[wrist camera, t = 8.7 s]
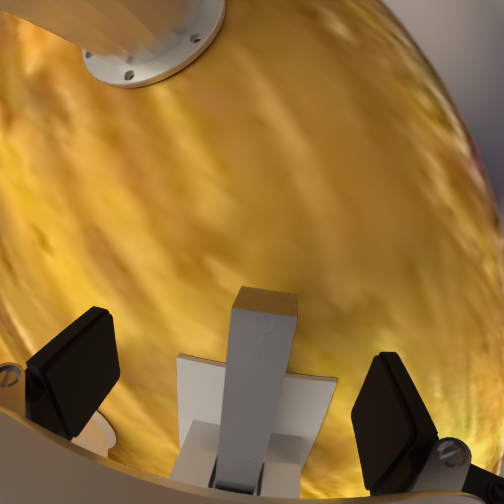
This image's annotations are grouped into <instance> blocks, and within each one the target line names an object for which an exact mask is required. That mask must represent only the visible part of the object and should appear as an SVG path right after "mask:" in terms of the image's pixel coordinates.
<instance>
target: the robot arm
mask: <svg viewBox="0 0 504 504" xmlns="http://www.w3.org/2000/svg"><path fill="white" fill-rule="evenodd" d="M0 9H1V10H3V11H6V12H8V13H10V14H13V15H15V16H17V17H20V18H22V19H24V20H26V21H28V22H31V23H33V24H35V25H37V26H39V27H41V28H43V29H45V30H47V31H49V32H51V33H53V34H55V35H57V36H59V37H61V38H63V39H65V40H67V41H69V42H71V43H73V44H75V45H77V46H78V47H80V48H82V56H83V61H84V64H85V66H86V68H87V70H88V71H89V73H90V74H91V75H92V76H93V77H94V78H96V79H98V80H99V81H101V82H103V83H105V84H108V85H110V86H113V87H119V88H137V87H141V86H145V85H150V84H153V83H155V82H158V81H161V80H163V79H166V78H167V77H169V76H171V75H173V74H175V73H177V72H178V71H180V70H181V69H183V68H184V67H186V66H187V65H188V64H190V63H191V62H193V61H194V60H195V59H196V58H197V57H198V56H199V55H200V54H201V53H202V52H203V51H205V49H206V48H207V47H208V46H209V44H210V43H211V42H212V41H213V40H214V38H215V36H216V35H217V33H218V31H219V29H220V28H221V26H222V23H223V20H224V17H225V10H226V2H225V0H0ZM198 41H199V42H198ZM197 42H198V43H197ZM26 364H27V367H28V368H27V369H26V370H24V369H23V367H22V366H20V365H19V364H16V363H11V362H7V363H2V364H0V504H504V478H502V477H500V476H497V475H495V474H493V473H491V472H488V471H486V470H484V469H482V468H480V467H477V466H475V465H473V464H471V457H472V455H471V451H470V449H469V448H468V446H467V445H466V444H465V443H464V442H463V441H461V440H459V439H457V438H453V437H446V438H442V439H440V440H439V437H438V435H437V434H438V432H437V429H436V427H435V425H434V423H433V421H432V419H431V417H430V415H429V413H428V411H427V409H426V407H425V405H424V403H423V401H422V399H421V397H420V395H419V393H418V391H417V389H416V387H415V385H414V383H413V381H412V379H411V377H410V376H409V374H408V372H407V370H406V368H405V366H404V364H403V363H402V361H401V359H400V357H399V355H398V354H397V353H396V352H380V353H379V355H376V356H375V357H374V358H373V361H372V363H371V366H370V369H369V371H368V374H367V376H366V378H365V381H364V383H363V386H362V388H361V390H360V393H359V395H358V397H357V400H356V402H355V404H354V406H353V408H352V412H351V420H352V424H353V429H354V433H355V438H356V443H357V448H358V453H359V458H360V463H361V468H362V474H363V479H364V485H365V488H366V490H370V495H371V496H369V497H355V498H333V499H298V498H278V497H266V496H256V495H248V494H240V493H233V492H227V491H221V490H215V489H210V488H205V487H200V486H195V485H191V484H187V483H183V482H179V481H175V480H171V479H167V478H164V477H160V476H157V475H154V474H150V473H147V472H144V471H141V470H138V469H135V468H132V467H129V466H127V465H124V464H121V463H118V462H116V461H113V460H111V459H108V458H106V457H103V456H101V455H98V454H96V453H94V452H92V451H89V450H87V449H85V448H83V447H81V446H78V445H76V444H74V443H72V442H71V440H72V439H73V437H75V438H76V437H78V436H79V434H80V433H81V432H82V430H83V429H84V427H85V426H86V424H87V423H88V422H89V420H90V419H91V417H92V416H93V415H94V413H95V412H96V410H97V409H98V407H99V406H100V405H101V403H102V402H103V400H104V399H105V398H106V396H107V395H108V394H109V392H110V391H111V389H112V388H113V387H114V385H115V384H116V382H117V381H118V379H119V377H120V367H119V361H118V354H117V347H116V340H115V332H114V323H113V317H112V315H111V314H110V313H109V311H108V310H107V309H103V308H99V307H96V306H93V307H91V308H90V309H89V310H88V311H86V312H85V313H84V314H83V315H81V316H80V317H79V318H78V319H76V320H75V321H74V322H73V323H72V324H70V325H69V326H68V327H67V328H65V329H64V330H63V331H62V332H61V333H59V334H58V335H57V336H56V337H55V338H53V339H52V340H51V341H50V342H49V343H48V344H46V345H45V346H44V347H43V348H42V349H41V350H39V351H38V352H37V353H36V354H35V355H34V356H32V357H31V358H30V359H29V360H28V361H27V362H26Z"/></svg>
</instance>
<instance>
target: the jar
mask: <svg viewBox="0 0 504 504" xmlns="http://www.w3.org/2000/svg"><path fill="white" fill-rule="evenodd" d="M71 442H72V443H74V444H76V445H78V446H81V447H83V448H85V449H87V450H89V451H92V452H94V453H96V454H98V455H101V456H103V457H106V458H108V449H110V448H112V447H113V446H114V445H115V444H116V435H115V433H114V430H113V429H112V427H111V426H110V424H109V423H108V422H107V420H106V419H105V418H104V417H103V416H102V415H101V414H100V413H99V412H97V411H96V412H95V413H94V415H93V416H92V417H91V419H90V420H89V422H88V423H87V424H86V426H85V427H84V429H83V430H82V432H81V433H80V434H79V436H78V437H76V438H75V437H73V439H72V440H71Z"/></svg>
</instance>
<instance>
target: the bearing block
mask: <svg viewBox="0 0 504 504" xmlns="http://www.w3.org/2000/svg"><path fill="white" fill-rule="evenodd" d="M225 369H226V363H221V362H216V361H211V360H206V359H201V358H197V357H192V356H188V355H183V354H179V355H178V356H177V394H178V421H179V440H180V453H179V455H178V457H177V460H176V462H175V465H174V467H173V469H172V472H171V474H170V476H169V479H171V480H175V481H179V482H183V483H187V484H191V485H195V486H200V487H205V488H210V489H214V486H215V480H216V468H217V456H218V445H219V433H220V422H221V411H222V401H223V390H224V380H225ZM336 384H337V380H336V378H330V377H319V376H309V375H300V374H291V373H286V375H285V379H284V383H283V387H282V392H281V396H280V400H279V404H278V408H277V412H276V416H275V420H274V424H273V427H272V431H271V435H270V439H269V442H268V446H267V450H266V453H265V457H264V460H263V464H262V467H261V471H260V474H259V477H258V481H257V484H256V487H255V491H254V492H255V495H256V496H266V497H278V498H298V499H300V472H301V470H302V468H303V466H304V464H305V462H306V459H307V457H308V455H309V453H310V450H311V448H312V446H313V444H314V441H315V439H316V436H317V434H318V432H319V429H320V427H321V424H322V422H323V419H324V416H325V414H326V411H327V409H328V406H329V403H330V401H331V398H332V395H333V392H334V389H335V387H336ZM215 490H217V489H215ZM221 491H222V490H221ZM227 492H228V491H227ZM233 493H234V492H233Z"/></svg>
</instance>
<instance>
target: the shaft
mask: <svg viewBox="0 0 504 504" xmlns="http://www.w3.org/2000/svg"><path fill="white" fill-rule="evenodd" d="M297 319H298V313H297V298H296V294H292V293H285V292H278V291H271V290H264V289H258V288H251V287H245V286H241V289H240V291H239V293H238V295H237V297H236V300H235V302H234V304H233V306H232V311H231V320H230V330H229V339H228V349H227V359H226V369H225V380H224V390H223V401H222V411H221V422H220V433H219V445H218V456H217V468H216V480H215V489H217V490H222V491H228V492H234V493H240V494H248V495H253V494H254V491H255V487H256V484H257V481H258V477H259V474H260V471H261V467H262V464H263V460H264V457H265V453H266V450H267V446H268V442H269V439H270V435H271V431H272V427H273V424H274V420H275V416H276V412H277V408H278V404H279V400H280V396H281V392H282V387H283V383H284V379H285V375H286V370H287V366H288V361H289V357H290V352H291V348H292V343H293V338H294V334H295V329H296V324H297Z"/></svg>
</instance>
